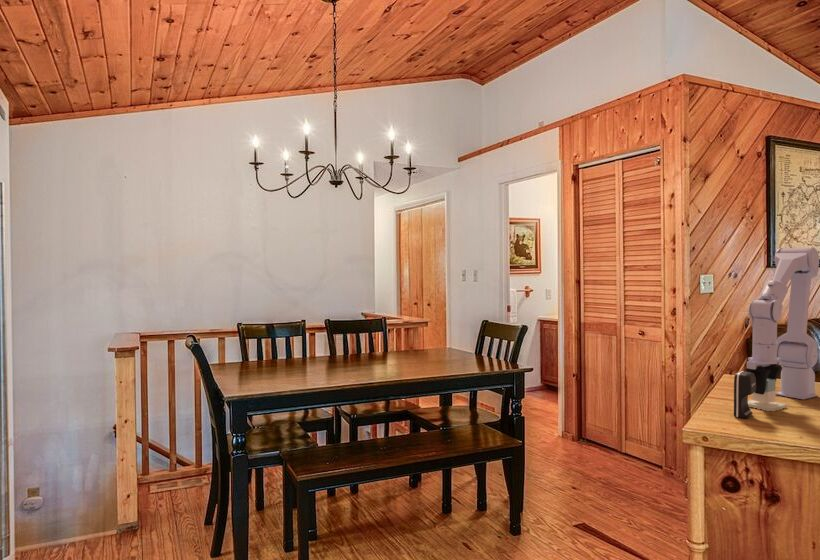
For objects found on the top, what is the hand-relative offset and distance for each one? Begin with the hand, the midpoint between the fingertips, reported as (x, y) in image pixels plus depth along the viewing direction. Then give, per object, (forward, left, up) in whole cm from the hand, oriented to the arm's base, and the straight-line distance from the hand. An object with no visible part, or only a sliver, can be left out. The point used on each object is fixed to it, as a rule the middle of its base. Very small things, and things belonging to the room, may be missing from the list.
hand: (763, 392), depth 159 cm
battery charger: (+15, +3, -4) cm, 15 cm away
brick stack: (0, 0, -2) cm, 2 cm away
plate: (0, 0, -4) cm, 4 cm away
